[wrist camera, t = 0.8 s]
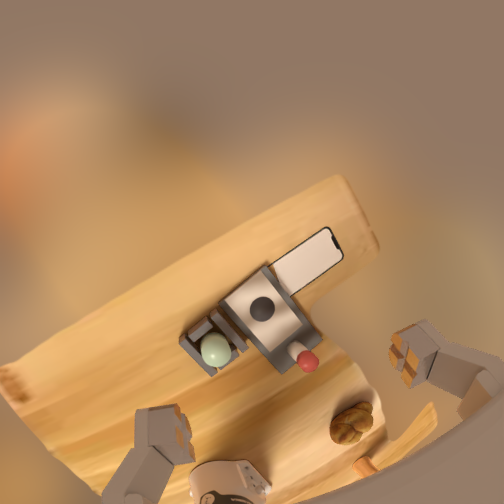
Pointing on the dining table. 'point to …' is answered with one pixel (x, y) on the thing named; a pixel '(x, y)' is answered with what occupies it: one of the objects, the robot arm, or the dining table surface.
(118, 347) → the dining table surface
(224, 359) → the button
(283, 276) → the smartphone
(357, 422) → the bread roll
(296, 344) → the marker
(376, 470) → the beer glass
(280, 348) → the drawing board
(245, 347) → the button base
